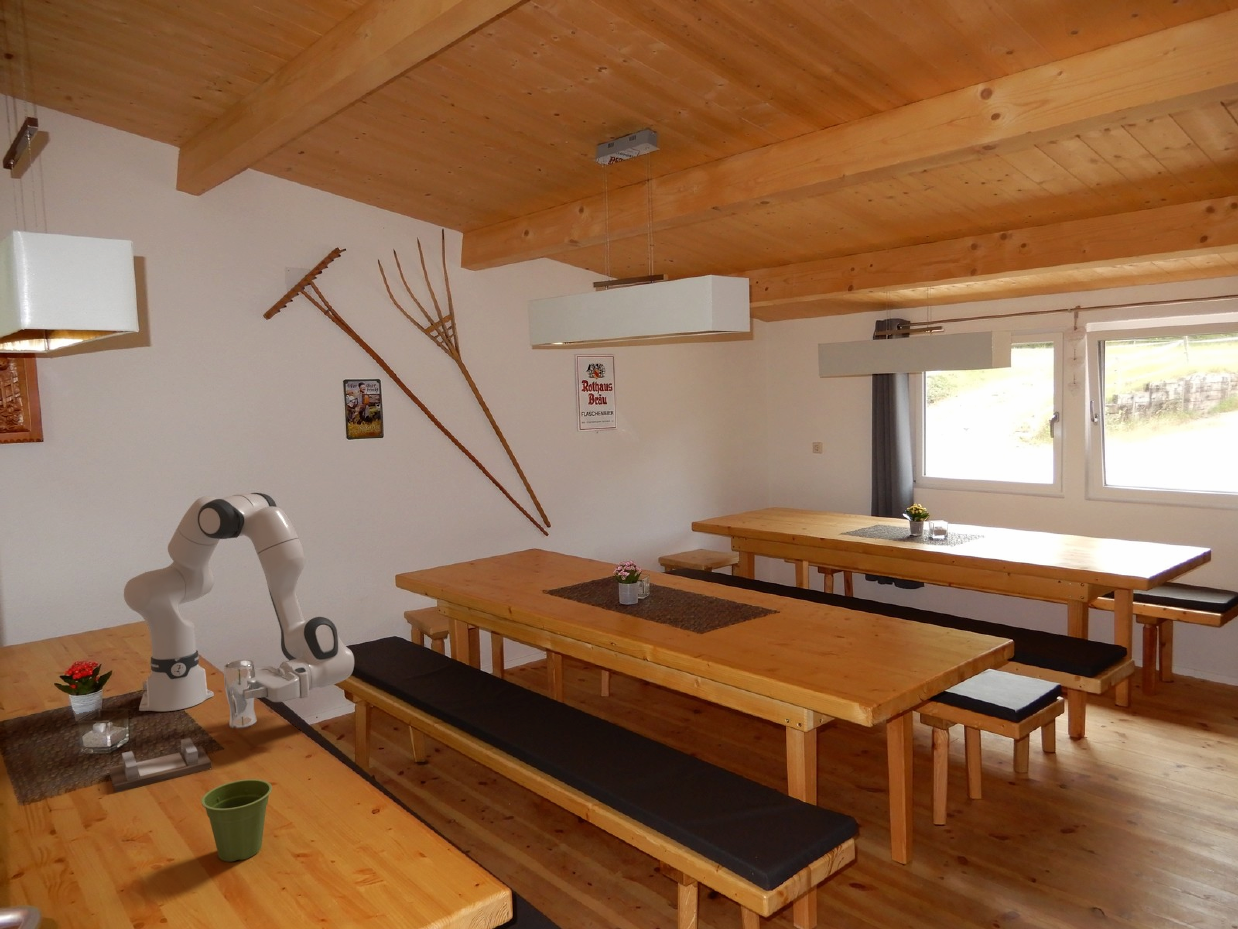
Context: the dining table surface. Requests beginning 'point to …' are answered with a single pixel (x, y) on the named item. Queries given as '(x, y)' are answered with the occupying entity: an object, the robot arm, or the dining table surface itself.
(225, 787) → the plant pot
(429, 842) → the dining table surface
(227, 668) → the beer glass
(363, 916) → the dining table surface
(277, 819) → the dining table surface
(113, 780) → the rail board
